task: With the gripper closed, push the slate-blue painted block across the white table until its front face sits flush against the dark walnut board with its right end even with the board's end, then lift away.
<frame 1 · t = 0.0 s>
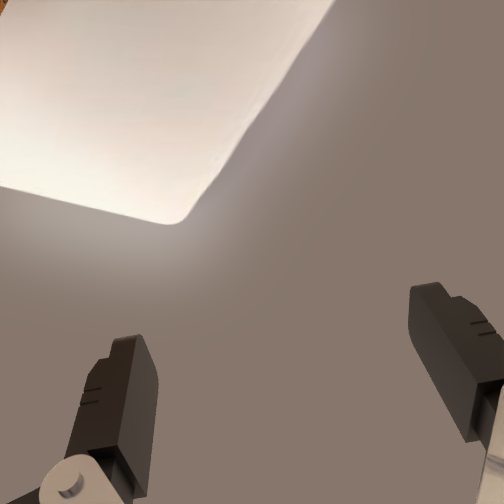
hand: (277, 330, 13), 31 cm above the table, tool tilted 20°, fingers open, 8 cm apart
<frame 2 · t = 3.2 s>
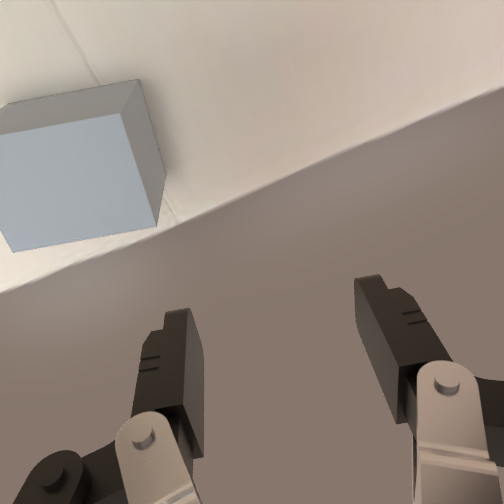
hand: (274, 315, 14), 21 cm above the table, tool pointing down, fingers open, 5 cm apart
block: (92, 140, 32), on the table
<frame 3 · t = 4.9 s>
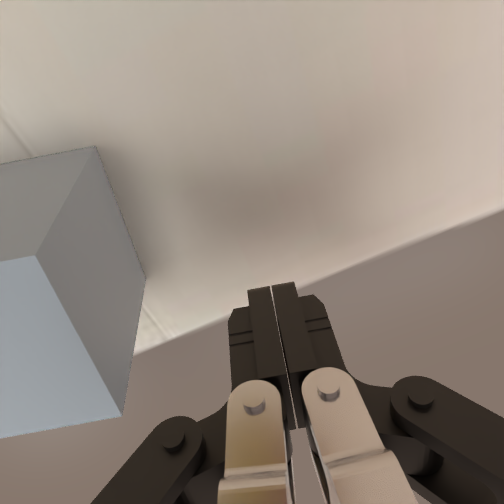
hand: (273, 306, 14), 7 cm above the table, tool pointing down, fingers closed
block: (26, 236, 20), on the table
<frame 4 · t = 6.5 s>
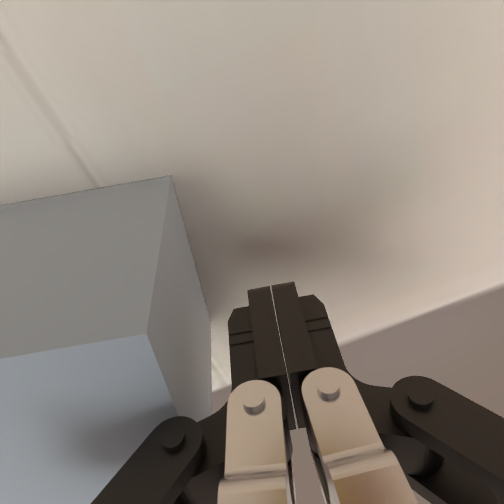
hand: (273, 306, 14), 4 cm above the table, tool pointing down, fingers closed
block: (81, 274, 18), on the table, touching gripper
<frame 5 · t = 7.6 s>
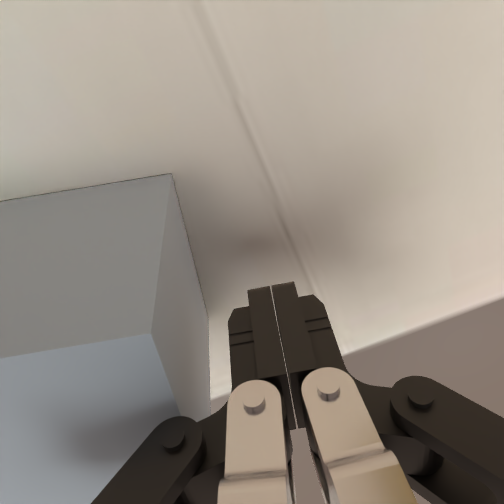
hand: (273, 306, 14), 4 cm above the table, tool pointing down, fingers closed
block: (80, 272, 18), on the table, touching gripper
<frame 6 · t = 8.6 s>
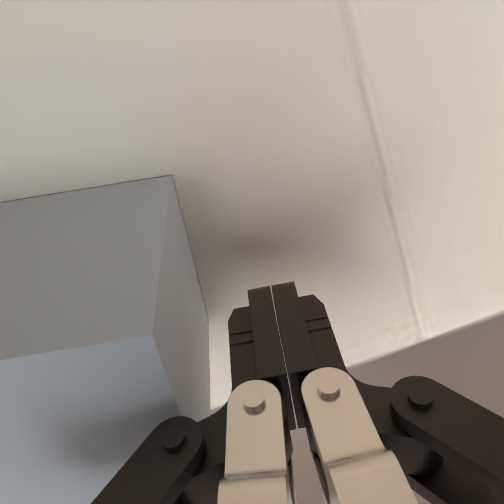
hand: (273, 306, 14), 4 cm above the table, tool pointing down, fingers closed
block: (80, 273, 18), on the table, touching board, gripper
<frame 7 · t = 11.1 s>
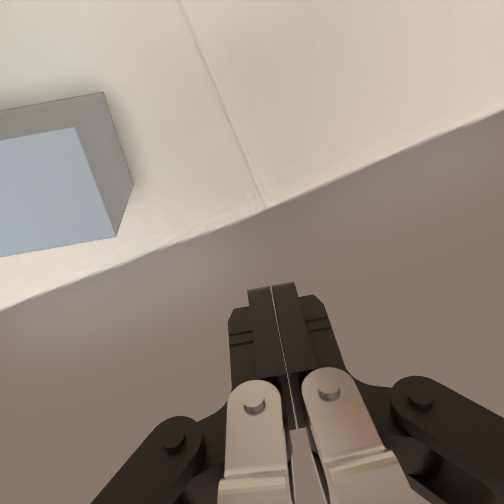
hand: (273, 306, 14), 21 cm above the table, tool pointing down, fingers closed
block: (59, 151, 32), on the table
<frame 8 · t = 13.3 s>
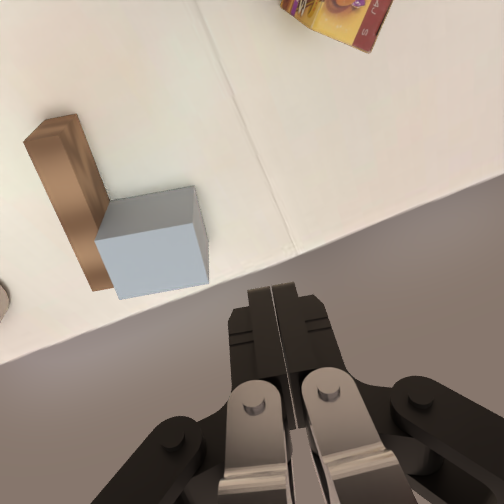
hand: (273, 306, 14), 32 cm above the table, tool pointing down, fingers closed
block: (161, 221, 48), on the table
board: (91, 193, 46), on the table
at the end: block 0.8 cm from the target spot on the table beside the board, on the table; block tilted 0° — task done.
